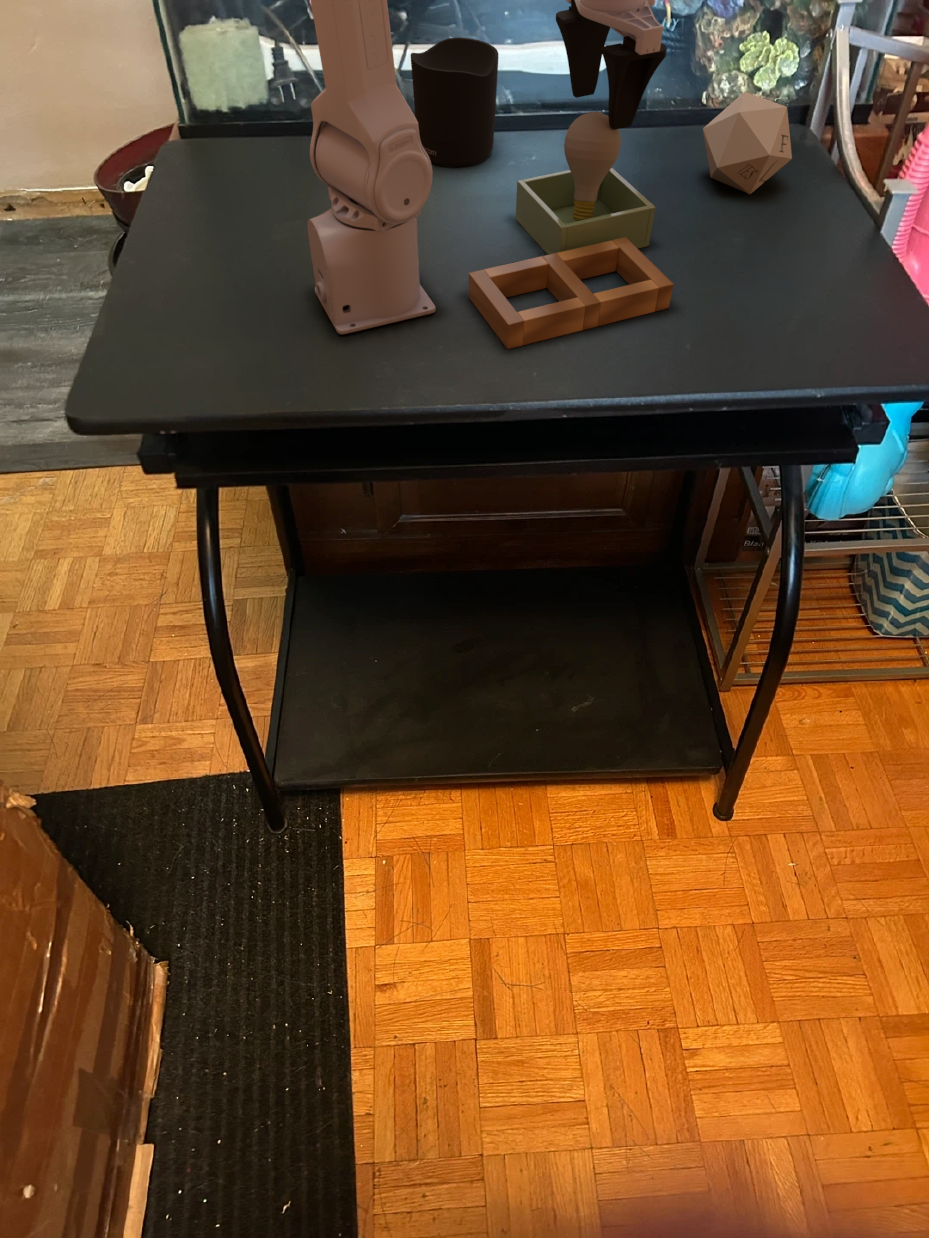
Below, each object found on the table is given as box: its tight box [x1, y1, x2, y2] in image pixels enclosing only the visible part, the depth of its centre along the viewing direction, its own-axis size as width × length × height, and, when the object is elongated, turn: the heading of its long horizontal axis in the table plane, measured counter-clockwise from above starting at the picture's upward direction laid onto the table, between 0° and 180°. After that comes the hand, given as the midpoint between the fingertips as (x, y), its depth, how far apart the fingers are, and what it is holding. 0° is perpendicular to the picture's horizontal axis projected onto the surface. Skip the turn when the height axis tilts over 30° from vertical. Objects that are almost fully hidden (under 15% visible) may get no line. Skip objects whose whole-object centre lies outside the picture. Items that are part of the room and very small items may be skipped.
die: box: [702, 91, 793, 195], centre depth 94 cm, size 8×9×10 cm
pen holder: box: [410, 37, 499, 168], centre depth 98 cm, size 9×9×10 cm
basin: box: [515, 167, 656, 255], centre depth 89 cm, size 10×10×4 cm
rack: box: [468, 237, 674, 350], centre depth 82 cm, size 16×9×2 cm, turn 112°
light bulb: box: [563, 111, 622, 221], centre depth 87 cm, size 5×6×10 cm
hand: (601, 110), depth 86 cm, fingers open, 7 cm apart
